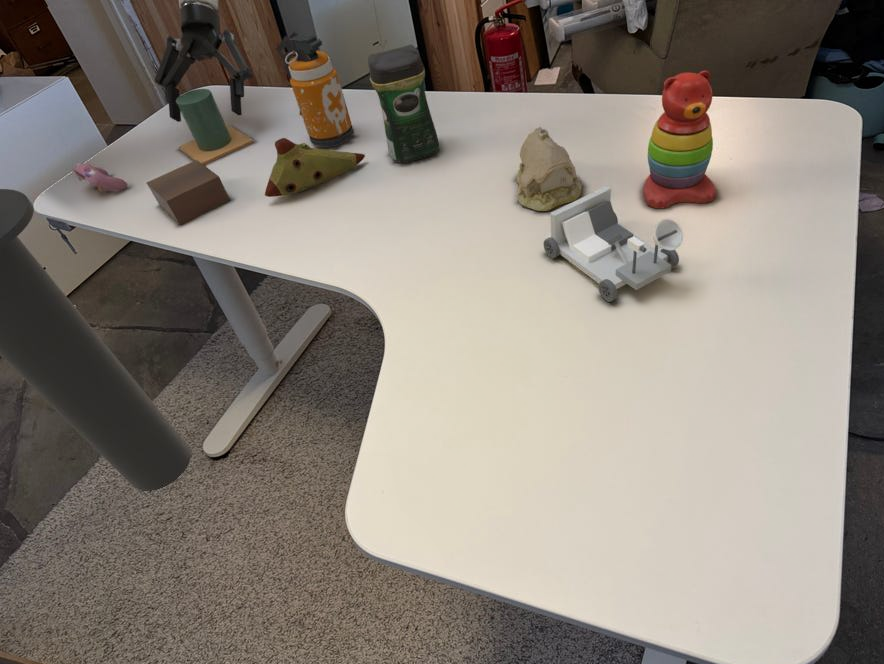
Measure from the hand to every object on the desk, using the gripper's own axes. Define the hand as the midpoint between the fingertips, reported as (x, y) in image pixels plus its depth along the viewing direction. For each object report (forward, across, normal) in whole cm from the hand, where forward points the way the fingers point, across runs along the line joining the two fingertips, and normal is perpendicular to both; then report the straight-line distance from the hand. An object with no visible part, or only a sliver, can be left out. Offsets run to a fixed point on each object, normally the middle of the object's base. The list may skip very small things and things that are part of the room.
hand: (205, 116), depth 125 cm
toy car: (+39, -79, +31) cm, 93 cm away
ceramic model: (+24, -69, +15) cm, 75 cm away
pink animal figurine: (+15, +18, +7) cm, 25 cm away
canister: (+6, -25, -3) cm, 26 cm away
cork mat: (+5, 0, -3) cm, 6 cm away
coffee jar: (+12, -45, +4) cm, 46 cm away
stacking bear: (+26, -90, +18) cm, 95 cm away
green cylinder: (+4, 0, -3) cm, 5 cm away
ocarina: (+19, -28, +10) cm, 35 cm away
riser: (+21, -4, +13) cm, 25 cm away
